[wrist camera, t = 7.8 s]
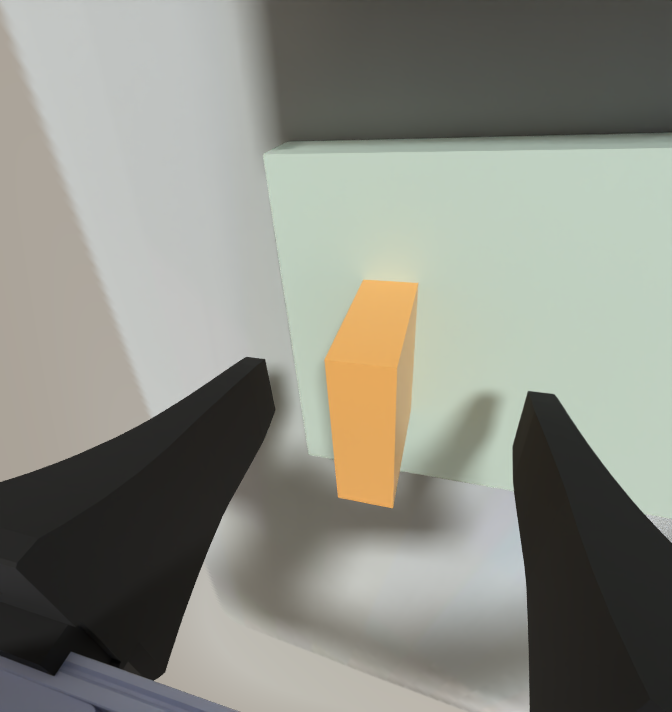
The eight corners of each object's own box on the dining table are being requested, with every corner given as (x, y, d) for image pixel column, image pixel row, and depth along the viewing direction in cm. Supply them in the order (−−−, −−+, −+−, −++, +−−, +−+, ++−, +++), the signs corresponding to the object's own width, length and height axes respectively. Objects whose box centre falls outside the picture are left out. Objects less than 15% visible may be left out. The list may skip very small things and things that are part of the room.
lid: (1026, 123, 8) (1670, 219, 4) (731, 489, 15) (836, 674, 11) (287, 141, 12) (177, 198, 8) (321, 425, 19) (273, 541, 15)
